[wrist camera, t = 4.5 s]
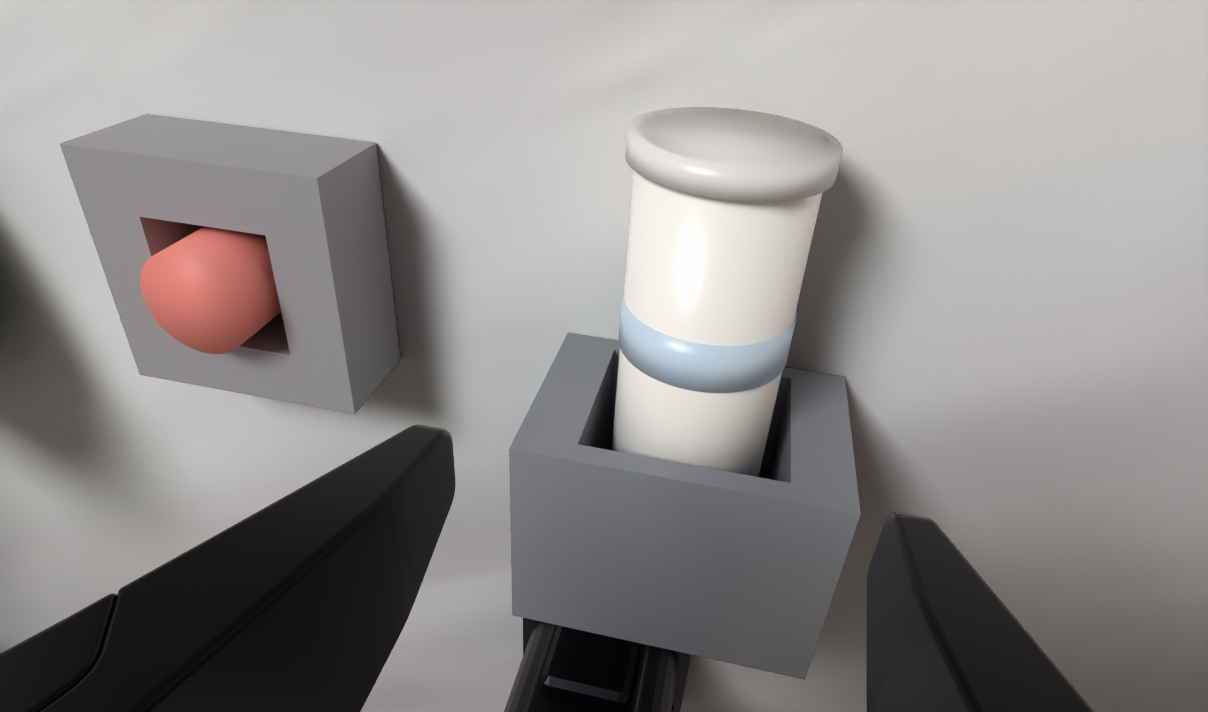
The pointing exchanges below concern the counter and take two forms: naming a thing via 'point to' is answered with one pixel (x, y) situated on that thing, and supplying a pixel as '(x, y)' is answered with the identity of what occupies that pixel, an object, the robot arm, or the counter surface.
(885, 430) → the counter surface
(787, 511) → the housing
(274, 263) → the button collar
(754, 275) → the cartridge
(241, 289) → the button
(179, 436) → the counter surface
